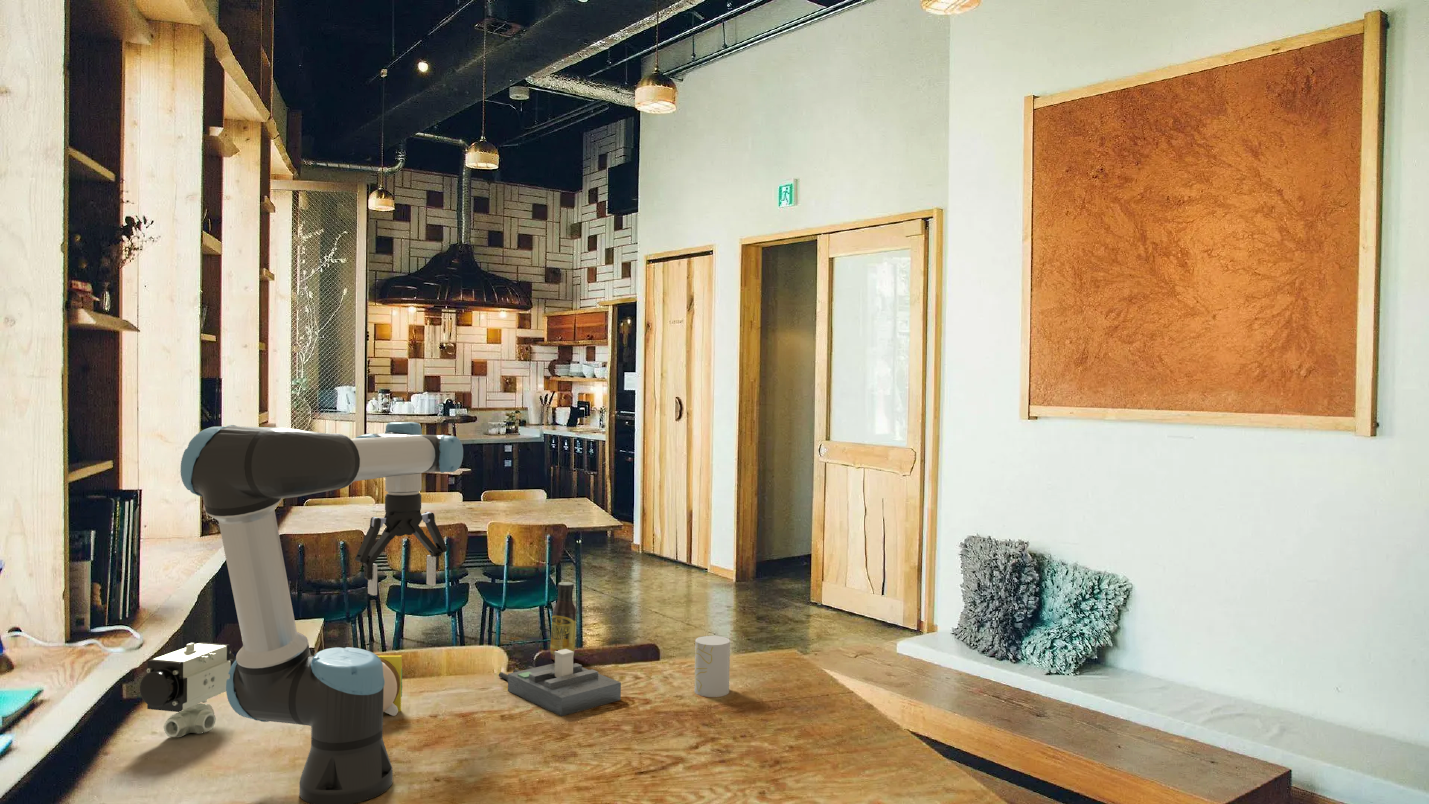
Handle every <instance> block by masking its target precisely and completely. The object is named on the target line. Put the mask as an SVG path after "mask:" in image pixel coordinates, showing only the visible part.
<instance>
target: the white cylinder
mask: <svg viewBox="0 0 1429 804" xmlns="http://www.w3.org/2000/svg"><path fill="white" fill-rule="evenodd" d="M694 644H695V645H694V646H695V647H694V651H695V653H694V694H696V695H698V696H702V697H705V698H718V697H725V696H727V695H728V694H730V668H731V667H730V661H731V659H730V655H731V640H730V638H728V637H726V636H721V635H705V636H699V637H697V638H695V643H694Z"/></svg>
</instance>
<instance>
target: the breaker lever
mask: <svg viewBox="0 0 1429 804" xmlns="http://www.w3.org/2000/svg"><path fill="white" fill-rule="evenodd" d="M554 655H555V660H554V663H555V677H557V678H558V677H562V676H566V675H570V674H573V664H574V656H575V651H574V652H573V651H571V650H568V649H563V650H558V651H554ZM573 655H574V656H573Z"/></svg>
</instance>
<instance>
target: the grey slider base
mask: <svg viewBox="0 0 1429 804" xmlns="http://www.w3.org/2000/svg"><path fill="white" fill-rule="evenodd" d="M498 677H499V678H501V679H503V680H506V681H507V691H508V692H509V693H511V694H513V695H515V696H517V697H520V698H522V699H524V700H526V701H528V702H530V703H533V704H535V705H537V706H539V707H541V708H543V709H545V710H547V711H549V712H552V713H554V714H556V715H558V716H560V717H565V716H568V715H571V714H574V713H579V712H582V711H586V710H589V709H593V708H596V707H599V706H601V707H602V706H605V705H607V704H611V703H615V702H618V701H621V699H622V698H621V695H622V694H621V693H622V692H621V691H622V690H621V689H622V682H621V681H618V680H616V679H614V678H611V677H608V676H606V675H603V674H601V673H599V671H597V670H595V669H588V668H585V667H583V665H582V664H579V663H578V662H577V663H576V662H575V663H574V662H573V674H570V675H566V676H562V677H558V678H557V677H555V662H554V663H550V664H545V665H541V666H536V667H534V666H531V665H528V666H527V667H526V669H524V670H519V669H517V668H515V669H513V672H510V673H508V674H506V673H505V672H502V671H501V672H499V674H498Z"/></svg>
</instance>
